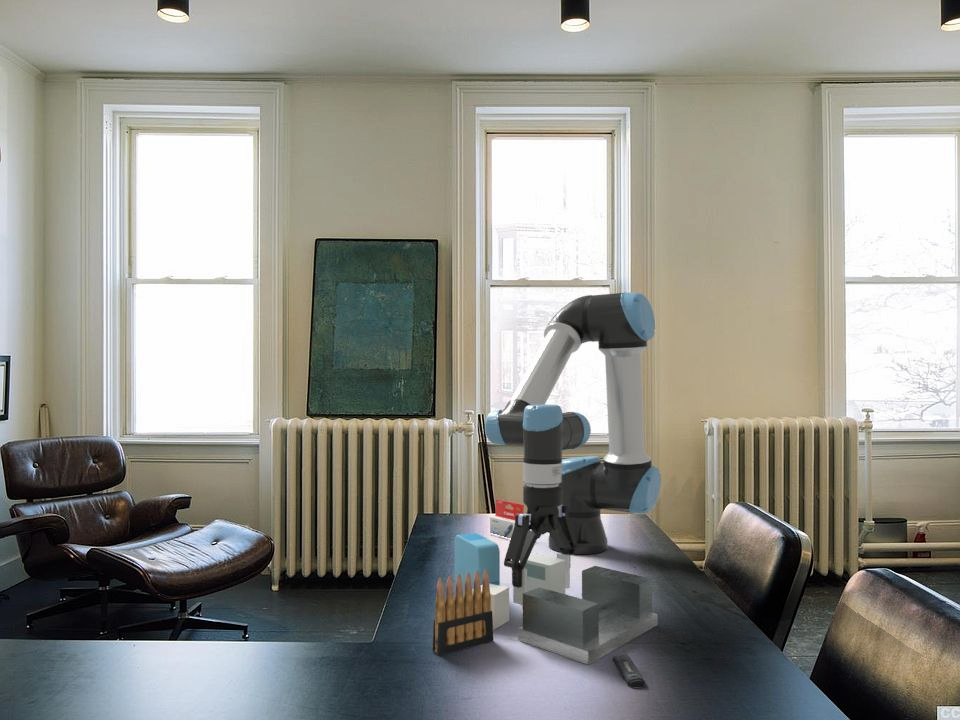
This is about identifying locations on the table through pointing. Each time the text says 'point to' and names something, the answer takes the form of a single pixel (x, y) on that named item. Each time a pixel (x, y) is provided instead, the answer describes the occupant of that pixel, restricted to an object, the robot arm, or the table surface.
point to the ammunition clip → (462, 615)
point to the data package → (476, 558)
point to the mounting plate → (589, 615)
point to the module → (545, 573)
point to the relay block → (499, 604)
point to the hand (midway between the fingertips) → (542, 595)
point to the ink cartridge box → (505, 518)
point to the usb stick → (628, 670)
